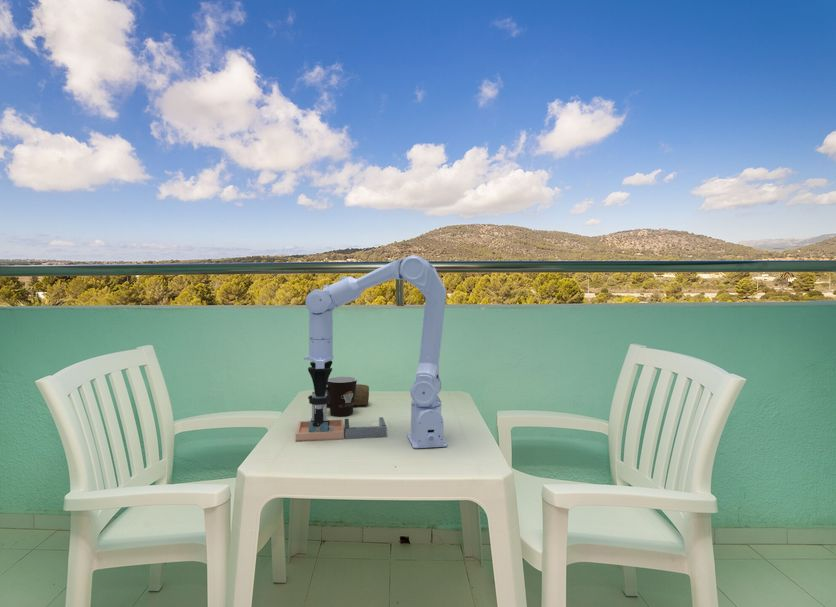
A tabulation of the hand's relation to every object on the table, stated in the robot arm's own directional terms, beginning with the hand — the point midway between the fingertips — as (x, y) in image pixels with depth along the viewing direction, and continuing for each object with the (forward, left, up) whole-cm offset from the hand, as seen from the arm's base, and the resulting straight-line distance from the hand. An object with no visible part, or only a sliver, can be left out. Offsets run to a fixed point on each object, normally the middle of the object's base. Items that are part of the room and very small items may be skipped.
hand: (320, 392), depth 111 cm
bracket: (0, -11, -10) cm, 15 cm away
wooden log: (+26, -7, -11) cm, 29 cm away
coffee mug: (+17, -4, -10) cm, 20 cm away
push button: (0, 0, -10) cm, 10 cm away
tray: (0, 0, -10) cm, 10 cm away
